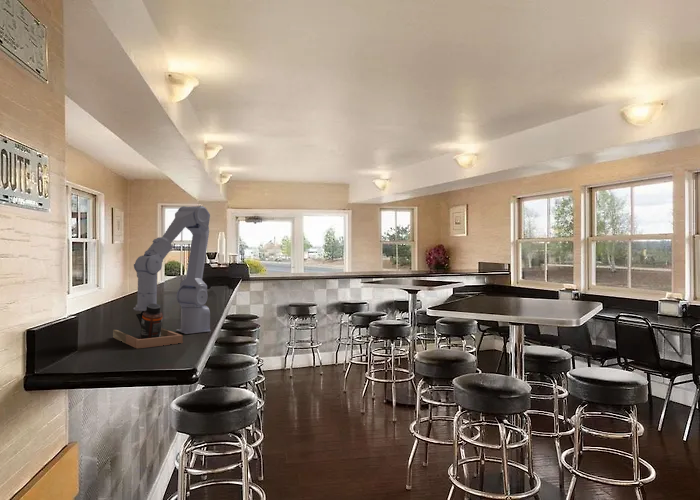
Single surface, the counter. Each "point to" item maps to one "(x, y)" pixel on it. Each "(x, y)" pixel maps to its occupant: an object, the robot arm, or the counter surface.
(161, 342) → the bay
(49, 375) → the counter surface
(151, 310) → the supplement bottle
